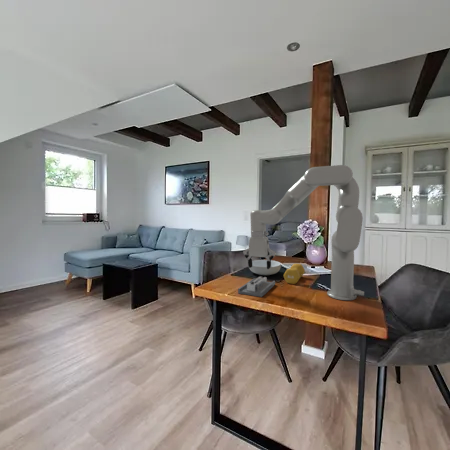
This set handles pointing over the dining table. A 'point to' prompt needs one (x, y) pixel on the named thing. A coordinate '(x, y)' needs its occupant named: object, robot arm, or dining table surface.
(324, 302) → the dining table surface
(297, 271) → the dumbbell
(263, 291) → the rest tray
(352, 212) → the robot arm
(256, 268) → the serving bowl
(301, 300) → the dining table surface
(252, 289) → the grey grooved bar
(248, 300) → the dining table surface
